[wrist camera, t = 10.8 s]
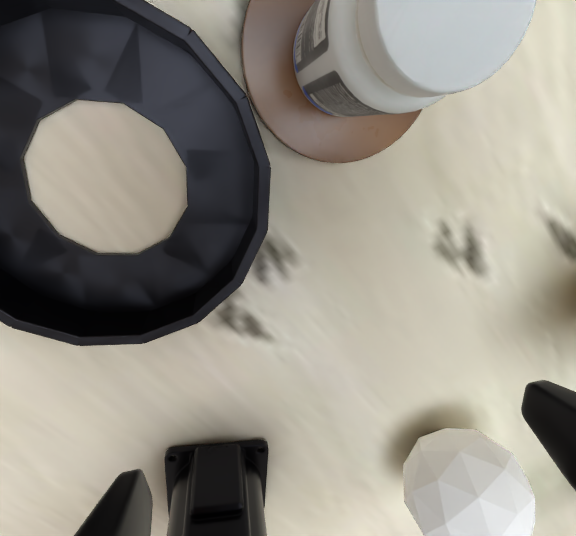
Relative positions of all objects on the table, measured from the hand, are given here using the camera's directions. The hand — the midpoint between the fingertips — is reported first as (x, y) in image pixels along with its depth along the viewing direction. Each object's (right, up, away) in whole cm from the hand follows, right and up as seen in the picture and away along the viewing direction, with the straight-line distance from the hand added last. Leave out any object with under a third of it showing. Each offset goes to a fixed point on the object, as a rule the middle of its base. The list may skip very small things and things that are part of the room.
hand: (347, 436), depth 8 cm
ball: (+10, -9, +19) cm, 23 cm away
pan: (-13, +8, +8) cm, 17 cm away
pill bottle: (+1, +13, +8) cm, 15 cm away
